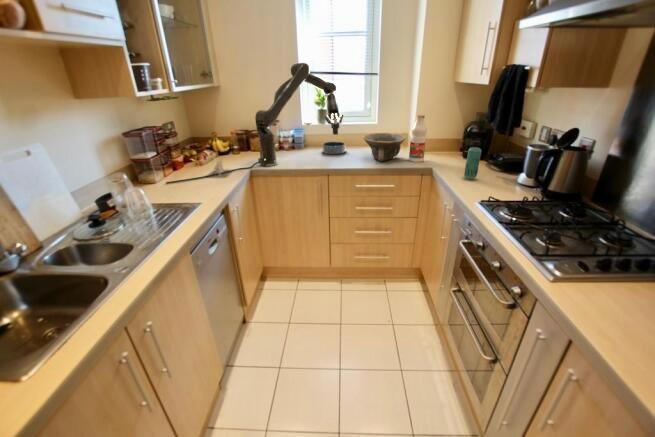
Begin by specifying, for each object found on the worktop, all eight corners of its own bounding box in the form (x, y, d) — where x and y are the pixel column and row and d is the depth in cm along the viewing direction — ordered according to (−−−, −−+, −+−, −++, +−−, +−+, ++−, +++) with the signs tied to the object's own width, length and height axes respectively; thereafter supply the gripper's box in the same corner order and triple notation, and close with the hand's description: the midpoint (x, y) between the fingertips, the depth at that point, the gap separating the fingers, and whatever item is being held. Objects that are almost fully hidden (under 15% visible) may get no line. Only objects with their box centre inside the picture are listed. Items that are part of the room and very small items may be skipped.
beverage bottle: (460, 178, 170) (466, 140, 161) (470, 176, 172) (476, 139, 164) (469, 181, 164) (476, 143, 156) (479, 179, 166) (486, 141, 158)
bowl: (394, 166, 193) (396, 141, 187) (356, 161, 206) (356, 138, 199) (409, 156, 214) (411, 134, 207) (373, 152, 226) (374, 131, 220)
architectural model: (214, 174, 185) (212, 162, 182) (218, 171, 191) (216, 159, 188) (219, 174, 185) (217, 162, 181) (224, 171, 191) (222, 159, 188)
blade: (333, 134, 219) (333, 119, 215) (332, 133, 223) (332, 118, 219) (337, 134, 219) (337, 119, 215) (336, 133, 224) (336, 118, 219)
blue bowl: (330, 156, 220) (330, 147, 218) (318, 151, 233) (318, 143, 231) (350, 152, 228) (350, 144, 225) (337, 148, 241) (337, 140, 238)
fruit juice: (425, 159, 206) (430, 114, 194) (421, 162, 199) (426, 116, 187) (411, 157, 211) (415, 114, 199) (406, 161, 203) (410, 116, 191)
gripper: (323, 104, 219) (326, 125, 213) (342, 103, 221) (346, 124, 215) (322, 111, 226) (325, 131, 220) (341, 110, 228) (344, 130, 222)
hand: (335, 127), depth 218 cm, fingers closed on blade, 3 cm apart
